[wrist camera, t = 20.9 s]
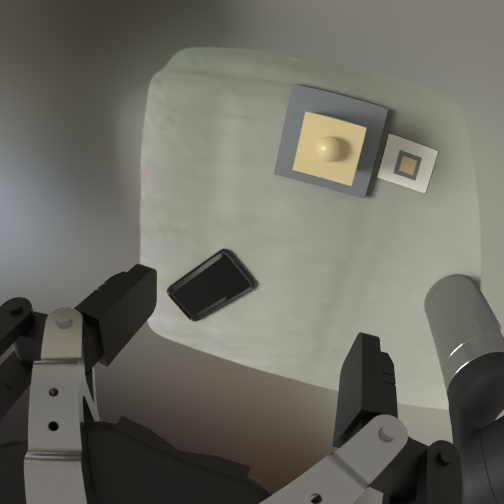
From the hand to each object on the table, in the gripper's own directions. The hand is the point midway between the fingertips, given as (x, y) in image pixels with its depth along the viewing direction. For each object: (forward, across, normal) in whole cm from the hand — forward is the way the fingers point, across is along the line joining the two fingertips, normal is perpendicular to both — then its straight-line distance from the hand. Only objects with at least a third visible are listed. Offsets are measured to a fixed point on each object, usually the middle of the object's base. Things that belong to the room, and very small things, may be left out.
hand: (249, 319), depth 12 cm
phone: (+33, +12, +23) cm, 42 cm away
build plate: (+32, -1, -4) cm, 32 cm away
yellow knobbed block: (+26, -1, -4) cm, 27 cm away
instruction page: (+32, -12, -4) cm, 34 cm away
